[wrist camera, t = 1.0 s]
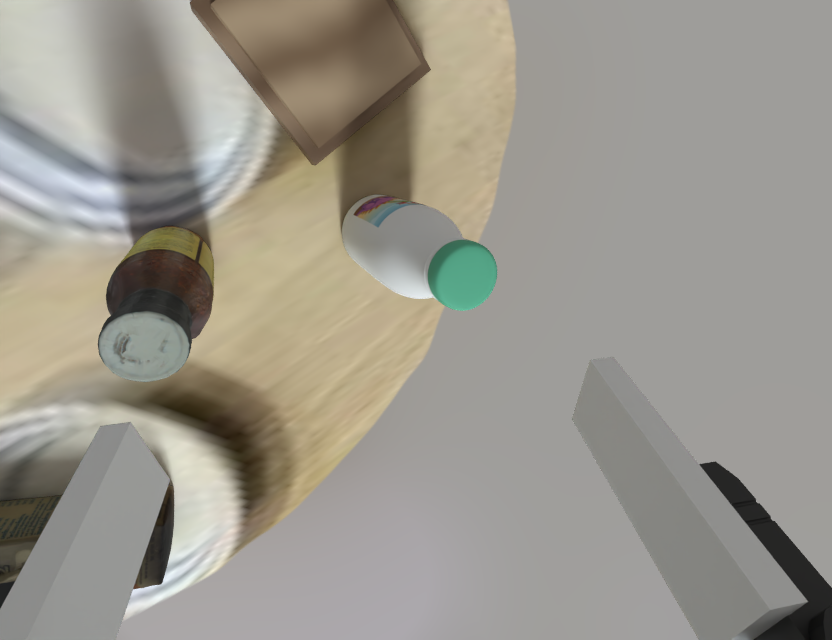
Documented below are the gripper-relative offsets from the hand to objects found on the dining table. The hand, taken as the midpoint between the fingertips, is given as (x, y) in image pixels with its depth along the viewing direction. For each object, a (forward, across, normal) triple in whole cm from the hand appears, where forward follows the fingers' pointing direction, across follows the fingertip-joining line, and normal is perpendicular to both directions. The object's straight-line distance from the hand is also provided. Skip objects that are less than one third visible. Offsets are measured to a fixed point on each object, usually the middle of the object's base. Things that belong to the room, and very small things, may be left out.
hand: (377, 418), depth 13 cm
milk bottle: (+33, +2, -9) cm, 34 cm away
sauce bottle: (+28, -16, -8) cm, 34 cm away
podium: (+36, -1, +7) cm, 37 cm away
